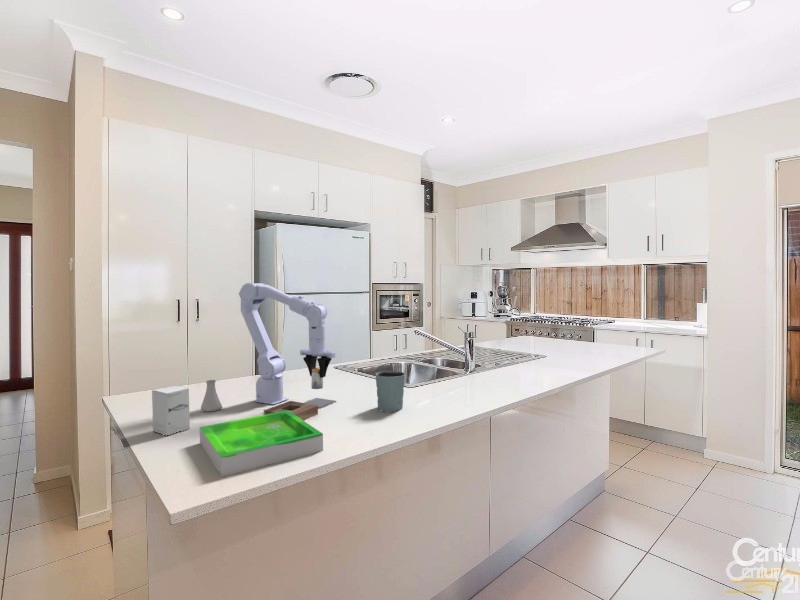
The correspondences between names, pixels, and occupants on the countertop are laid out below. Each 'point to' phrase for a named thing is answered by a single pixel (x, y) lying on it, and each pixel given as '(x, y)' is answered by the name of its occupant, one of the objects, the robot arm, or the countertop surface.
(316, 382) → the glass jar
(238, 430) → the tray
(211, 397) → the flask
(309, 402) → the mat
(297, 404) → the housing
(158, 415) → the supplement box
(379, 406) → the grey cup
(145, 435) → the countertop surface
